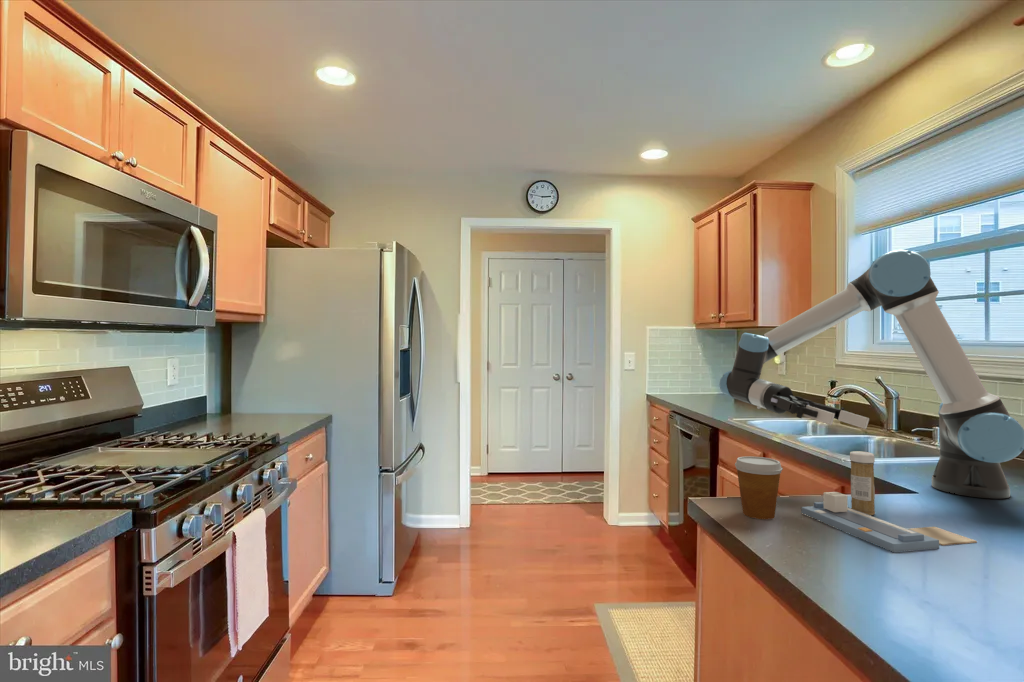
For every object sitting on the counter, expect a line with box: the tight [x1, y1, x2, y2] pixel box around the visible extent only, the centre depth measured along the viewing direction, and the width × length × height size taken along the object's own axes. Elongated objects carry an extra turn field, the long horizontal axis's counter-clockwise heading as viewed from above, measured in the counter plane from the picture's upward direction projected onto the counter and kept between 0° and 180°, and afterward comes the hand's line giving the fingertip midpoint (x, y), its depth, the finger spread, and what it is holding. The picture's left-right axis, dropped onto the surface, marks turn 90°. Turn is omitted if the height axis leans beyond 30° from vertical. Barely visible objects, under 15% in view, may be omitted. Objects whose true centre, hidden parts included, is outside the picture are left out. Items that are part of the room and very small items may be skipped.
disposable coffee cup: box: [734, 456, 783, 520], centre depth 112 cm, size 10×10×12 cm
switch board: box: [800, 501, 940, 553], centre depth 103 cm, size 10×22×2 cm, turn 11°
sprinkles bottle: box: [849, 450, 876, 516], centre depth 114 cm, size 5×5×14 cm
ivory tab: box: [822, 491, 849, 512], centre depth 110 cm, size 3×3×4 cm
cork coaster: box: [908, 526, 978, 546], centre depth 99 cm, size 8×8×1 cm
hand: (850, 421), depth 119 cm, fingers open, 13 cm apart
